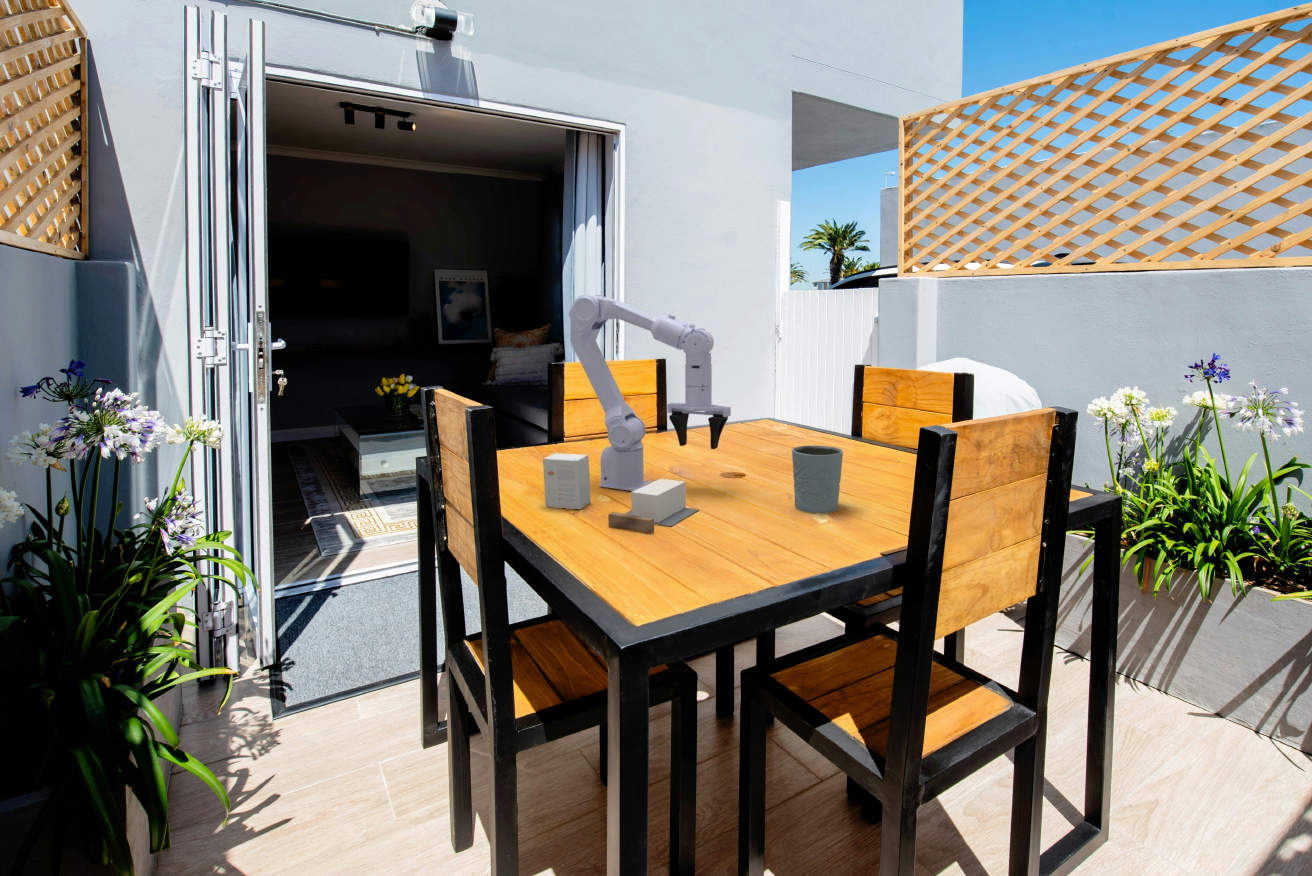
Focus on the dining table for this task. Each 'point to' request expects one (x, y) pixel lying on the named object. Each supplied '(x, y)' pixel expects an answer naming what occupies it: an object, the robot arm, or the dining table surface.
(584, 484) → the small box
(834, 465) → the grey green tumbler
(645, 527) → the brown rectangular bar
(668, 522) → the thin grey square plate
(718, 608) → the dining table surface
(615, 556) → the dining table surface
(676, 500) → the white rectangular block
